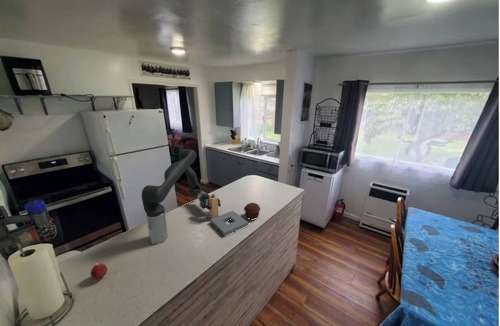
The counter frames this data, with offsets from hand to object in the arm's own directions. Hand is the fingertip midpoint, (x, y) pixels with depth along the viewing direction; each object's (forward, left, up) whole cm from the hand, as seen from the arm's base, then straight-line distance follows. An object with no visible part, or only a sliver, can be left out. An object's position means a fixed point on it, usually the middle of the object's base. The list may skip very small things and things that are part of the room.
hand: (215, 207), depth 130 cm
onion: (-64, -10, -10) cm, 65 cm away
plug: (0, +2, -10) cm, 10 cm away
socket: (+4, -11, -10) cm, 15 cm away
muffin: (+22, -13, -10) cm, 27 cm away
